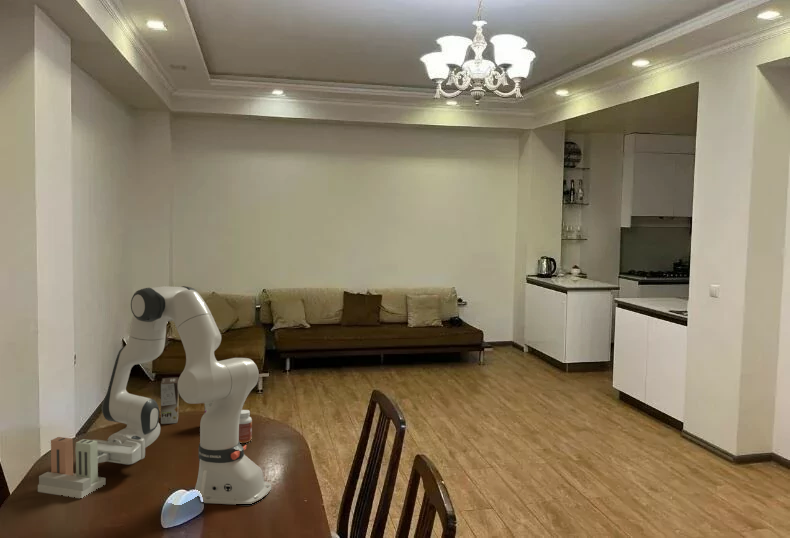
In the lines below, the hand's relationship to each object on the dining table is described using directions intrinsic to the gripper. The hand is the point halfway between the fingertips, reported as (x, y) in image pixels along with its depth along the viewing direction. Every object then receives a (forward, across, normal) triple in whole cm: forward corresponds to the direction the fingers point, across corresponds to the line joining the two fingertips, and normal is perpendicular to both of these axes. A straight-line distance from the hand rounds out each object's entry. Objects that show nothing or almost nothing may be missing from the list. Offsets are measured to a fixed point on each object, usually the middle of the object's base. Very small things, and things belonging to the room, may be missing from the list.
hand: (90, 461), depth 187 cm
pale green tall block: (+2, 0, +5) cm, 6 cm away
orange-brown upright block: (+2, -8, +5) cm, 10 cm away
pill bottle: (-47, +25, +8) cm, 54 cm away
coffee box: (-59, -13, +8) cm, 61 cm away
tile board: (+3, -4, +8) cm, 9 cm away
